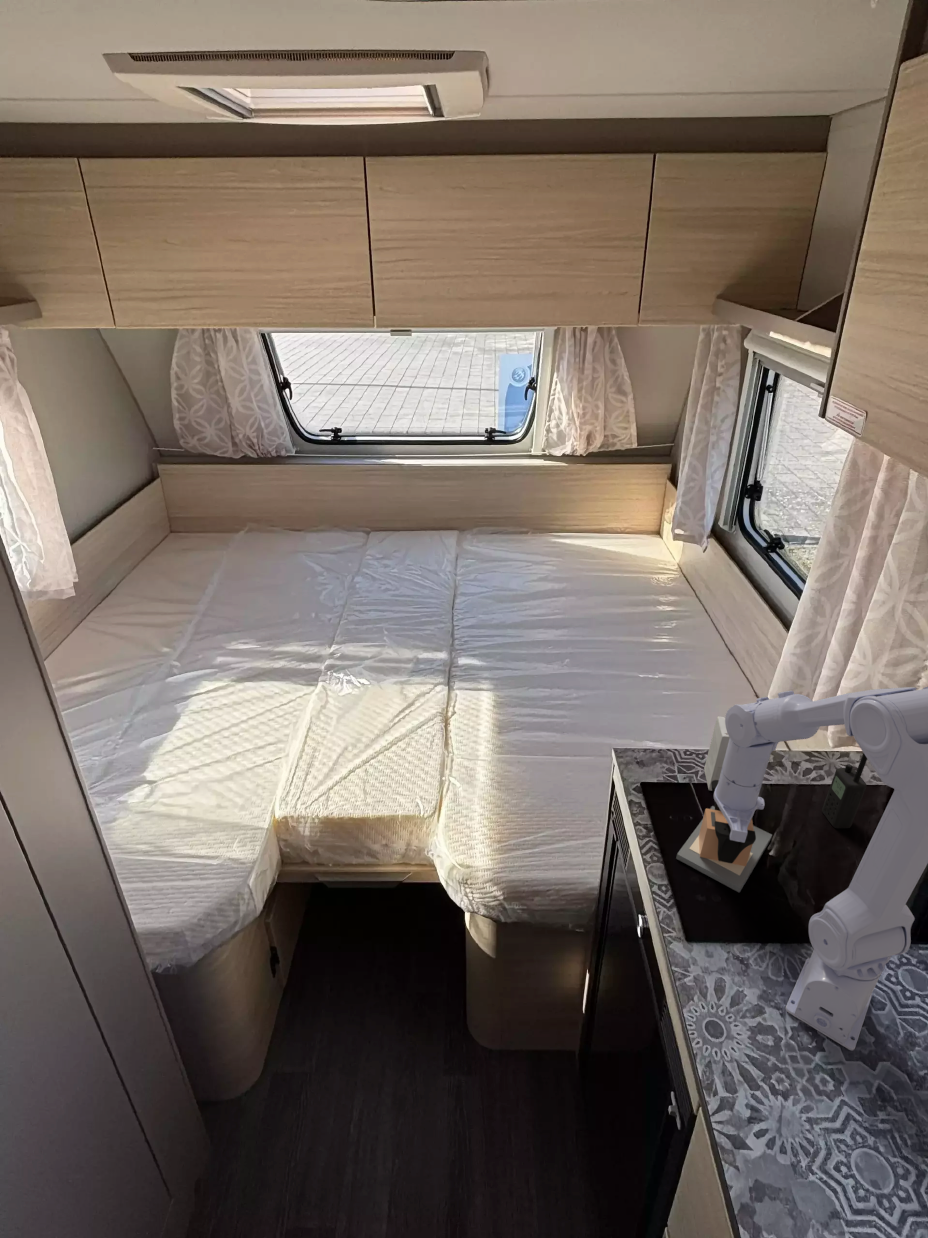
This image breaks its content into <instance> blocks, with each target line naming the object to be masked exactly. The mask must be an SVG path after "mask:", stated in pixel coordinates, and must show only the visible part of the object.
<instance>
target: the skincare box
mask: <svg viewBox="0 0 928 1238" xmlns="http://www.w3.org/2000/svg"><path fill="white" fill-rule="evenodd" d="M725 717H726V716H719V715H718V716H717V717H716V720H715V725H714V728H713V731H712V737H711V741H710V743H709V748H708V752H707V757H706V759H705V765H704V769H703V770H704V774H705V779H706V784H707V788H708V791H712V786H711V782H712V781H713V780H719V778H720V774H721V770H722V766H723V762H724V758H725V754H726V750H727V747H728V743H729V739H730V737H729V735H728V733H727V730H726V725H725ZM712 792H713V791H712Z"/></svg>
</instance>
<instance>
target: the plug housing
mask: <svg viewBox="0 0 928 1238" xmlns="http://www.w3.org/2000/svg"><path fill="white" fill-rule="evenodd" d="M703 814H704V815H703V818H702V819H703V821H702V820H701V821H702V825H701V829H700V833H699V852H700V857H703V858H708V859H712V860H717V861H719V860H718V838H717V836H716V833H715V824H714V823H715V821H718V822H723V823H728V822H727V820H726V819H725V817H724V815H723V814H722V812H721V811H718V810H712V809H710V808H708V807H707V808H705V809H704V813H703ZM753 823H754V822H753V818H752V819H751V821H750V823H749V825H748V828H747V830H751V831H754V829H753V826H754V824H753ZM752 845H753V844H751V845H749V846H747V847H746V848H744V849H743V850H742V851H741V853H740V854H739V855H738V857H737V858H736V859H735V861H734V862H733V863H732V864H737V865H742V866H746V865H747V861H748V858H749V855H750V852H751V848H752Z"/></svg>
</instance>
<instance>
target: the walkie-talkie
mask: <svg viewBox="0 0 928 1238" xmlns="http://www.w3.org/2000/svg"><path fill="white" fill-rule="evenodd" d="M867 761H868V759H867V757H866V756H865V754H864V753H863V752H862V756H861V758H860V761H859V764H858V766H857V767H856V770H855V769H854V767H853V765H852V764H849V763H847V764H846V765H845V767H838V768H836V769H835V772H834V775H833V778H832V779H831V783H830V786H829V789H828V791H827V794H826V797H825V800H824V802H823V806H822V808H821V813H822V814H823V815H824V816H825V818H826V819H827V821H828V822H829V824H831V825H832V827H834V829H850V828H851V827H852V825H853V822H854V819H855V817H856V814H857V812H858V809H859V807H860V804H861V801H862V799H863V796H864V793H865V791H866V788H867V782H866V781H865V780H864V779H863V778H862V777H861V776H862V775H863V771H864V769H865V766H866V764H867Z"/></svg>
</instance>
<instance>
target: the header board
mask: <svg viewBox="0 0 928 1238" xmlns="http://www.w3.org/2000/svg"><path fill="white" fill-rule="evenodd" d="M709 809H712V810H715V805H712V806H710V808H709ZM702 821H703V818H702V819H701V820H700V822H699V824H698V825H697V826H696V828H695V829H694V830H693V832H692V833H691V834H690V836H689V837H688V839H687V840H686V841H685V842H684V844H683V845H682V846H681V848H680V849H679V851H678V852H677V854H676V858H675V859H676V860H678V861H679V862H682V863H684V864H686V865H687V866H689V867H691V868H693V869H695V870H696V871H698V872H700V873H702V874H704V875H706V876H708V877H710V878H711V879H713V880H715V881H717V882H719V883H721V884H722V885H724V886H726V887H728V888H730V889H731V890H733V891H735V892H737V893H741V891H742V889H743V887H744V885H746V882H747V881H748V880H749V877H750V875H751V874H752V873H753V870H754V868H755V867H756V866H757V864H758V863H759V860H760V859H761V857H762V855H763V853H764V852H765V850H766V849H767V847H768V845H769V844H770V842H771V840H772V837H773V834H772V833H769V832H768V831H765V830H764V829H762V828H759V827H757V826H756V825H753V829H754V831H755V835H756V840H755V842H754V843H753V845H752V848H751V852H750V855H749V858H748V861H747V865H746V866H742V865H737V864H731V863H726V862H721V861H717V860H712V859H708V858H703V857H700V852H699V833H700V829H701V825H702Z"/></svg>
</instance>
